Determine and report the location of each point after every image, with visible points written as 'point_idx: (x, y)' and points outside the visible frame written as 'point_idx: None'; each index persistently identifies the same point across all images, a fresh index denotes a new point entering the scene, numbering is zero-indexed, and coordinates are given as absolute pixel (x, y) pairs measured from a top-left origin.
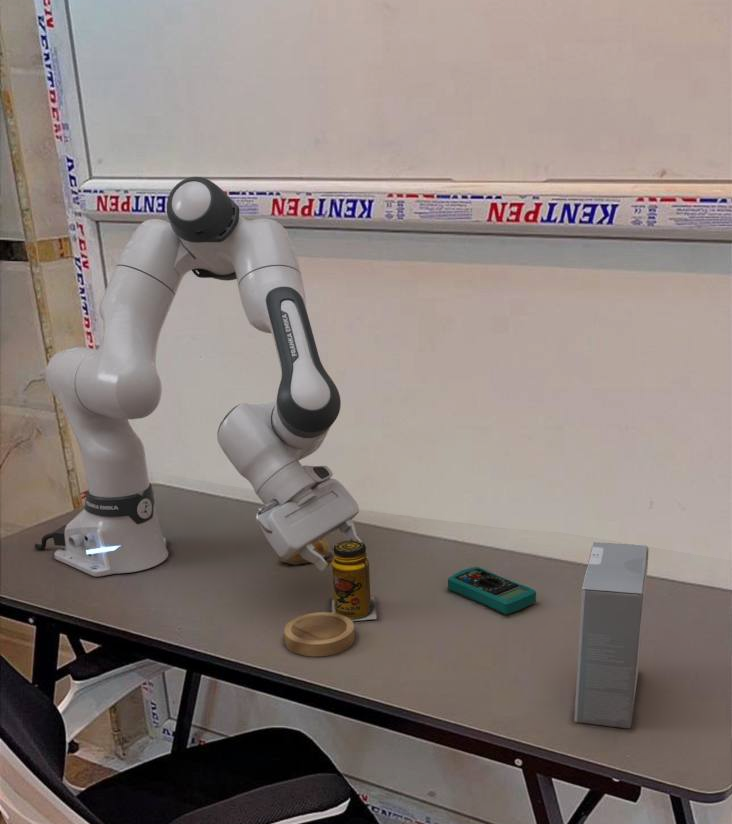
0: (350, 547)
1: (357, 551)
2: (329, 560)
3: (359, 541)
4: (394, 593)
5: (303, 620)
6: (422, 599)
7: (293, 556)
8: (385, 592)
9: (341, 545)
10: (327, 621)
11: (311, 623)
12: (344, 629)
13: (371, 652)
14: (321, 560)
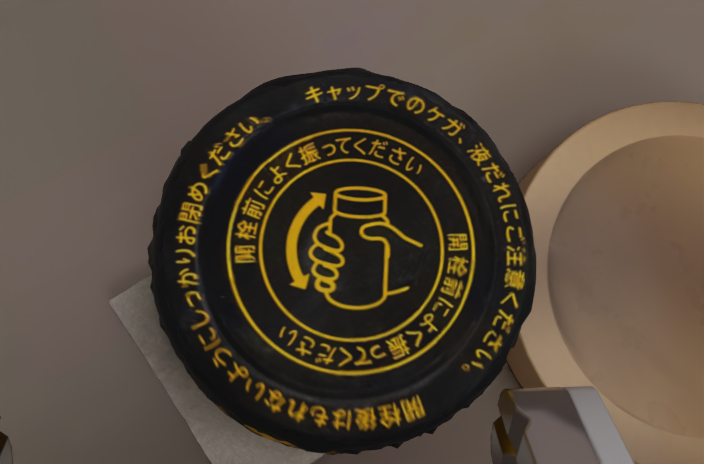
0: (370, 218)
1: (426, 89)
2: (520, 403)
3: (173, 208)
4: (2, 238)
5: (681, 409)
6: (14, 71)
7: None
8: (10, 290)
9: (368, 353)
10: (616, 280)
11: (682, 346)
12: (639, 150)
13: (617, 22)
14: (620, 444)
